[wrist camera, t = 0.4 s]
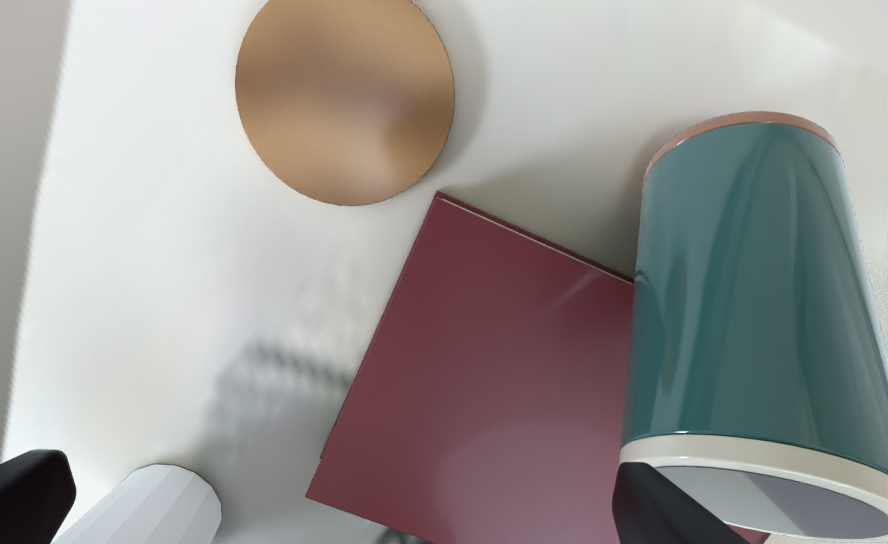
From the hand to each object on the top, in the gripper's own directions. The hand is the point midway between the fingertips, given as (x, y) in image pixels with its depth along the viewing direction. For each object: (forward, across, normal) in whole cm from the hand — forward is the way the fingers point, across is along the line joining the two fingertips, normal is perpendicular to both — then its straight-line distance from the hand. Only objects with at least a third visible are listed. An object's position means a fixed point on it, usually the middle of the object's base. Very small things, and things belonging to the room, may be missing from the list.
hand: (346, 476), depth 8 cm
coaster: (+15, +3, -6) cm, 16 cm away
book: (+14, -8, +9) cm, 18 cm away
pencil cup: (+14, -11, +1) cm, 18 cm away
